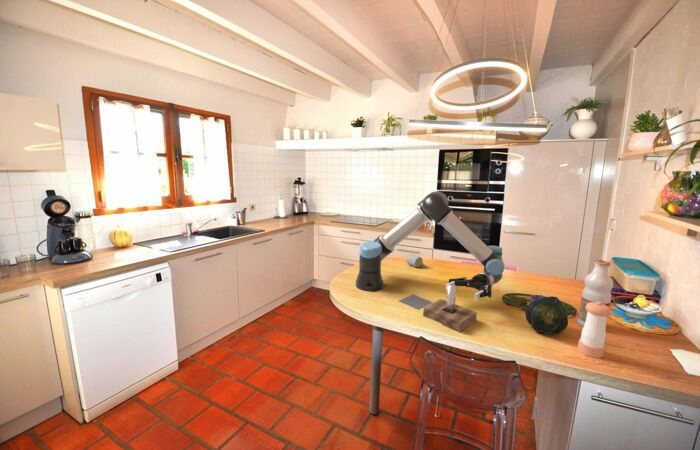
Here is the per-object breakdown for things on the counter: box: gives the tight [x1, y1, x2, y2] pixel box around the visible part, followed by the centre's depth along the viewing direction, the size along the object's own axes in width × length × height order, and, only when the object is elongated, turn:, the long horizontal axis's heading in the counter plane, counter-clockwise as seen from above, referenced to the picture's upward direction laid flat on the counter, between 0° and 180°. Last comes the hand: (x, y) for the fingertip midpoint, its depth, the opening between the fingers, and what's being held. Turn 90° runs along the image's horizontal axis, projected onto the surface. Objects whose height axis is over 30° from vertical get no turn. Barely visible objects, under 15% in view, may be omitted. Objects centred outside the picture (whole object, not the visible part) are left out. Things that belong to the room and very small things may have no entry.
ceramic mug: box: [406, 253, 424, 268], centre depth 200 cm, size 11×8×8 cm
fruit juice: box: [577, 259, 614, 328], centre depth 125 cm, size 9×9×28 cm
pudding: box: [531, 294, 546, 302], centre depth 144 cm, size 12×12×5 cm
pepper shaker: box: [577, 302, 612, 359], centre depth 107 cm, size 7×7×19 cm
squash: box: [524, 296, 569, 335], centre depth 122 cm, size 14×15×15 cm
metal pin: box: [445, 283, 458, 314], centre depth 130 cm, size 4×4×15 cm
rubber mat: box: [398, 294, 434, 311], centre depth 146 cm, size 12×12×1 cm
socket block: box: [422, 298, 478, 333], centre depth 131 cm, size 17×14×4 cm
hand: (460, 292), depth 134 cm, fingers open, 13 cm apart
